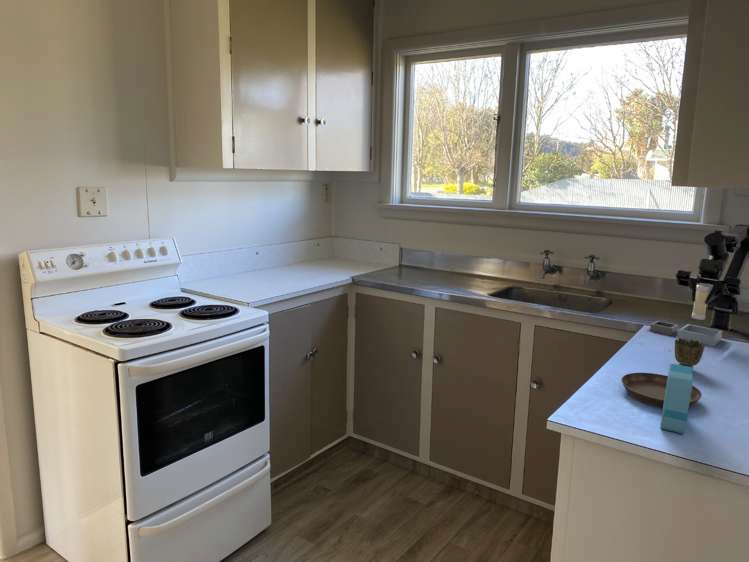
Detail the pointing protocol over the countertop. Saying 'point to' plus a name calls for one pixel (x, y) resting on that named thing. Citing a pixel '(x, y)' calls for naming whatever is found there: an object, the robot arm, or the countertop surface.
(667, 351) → the countertop surface
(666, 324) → the tray
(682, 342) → the cup
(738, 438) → the countertop surface
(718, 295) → the robot arm
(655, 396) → the plant saucer
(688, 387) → the data package
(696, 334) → the tray
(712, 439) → the countertop surface
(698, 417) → the countertop surface
